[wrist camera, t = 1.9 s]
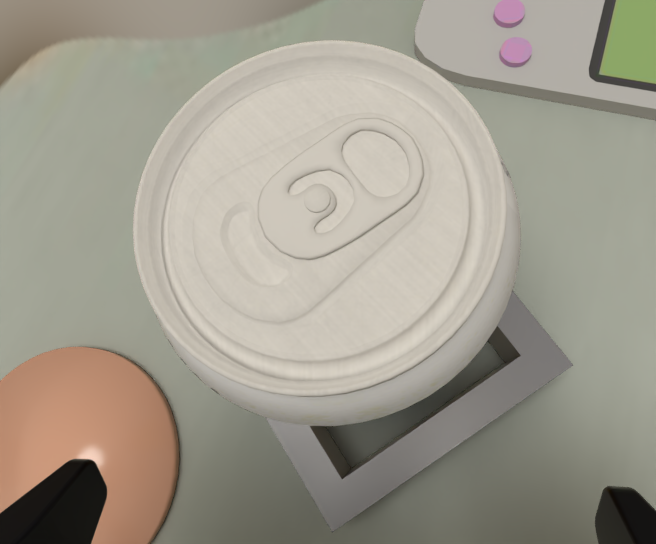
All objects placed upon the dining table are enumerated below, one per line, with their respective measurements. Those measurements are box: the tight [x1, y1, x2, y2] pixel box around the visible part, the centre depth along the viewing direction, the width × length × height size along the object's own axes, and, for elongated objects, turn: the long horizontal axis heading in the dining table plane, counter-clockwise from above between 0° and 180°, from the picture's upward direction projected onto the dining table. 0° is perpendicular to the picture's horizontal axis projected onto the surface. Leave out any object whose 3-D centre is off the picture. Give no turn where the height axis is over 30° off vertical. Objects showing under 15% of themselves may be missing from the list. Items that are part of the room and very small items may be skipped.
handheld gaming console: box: [415, 0, 656, 120], centre depth 23 cm, size 10×2×15 cm
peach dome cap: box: [0, 347, 179, 544], centre depth 22 cm, size 10×10×1 cm
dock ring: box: [265, 291, 573, 532], centre depth 20 cm, size 10×10×3 cm
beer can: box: [133, 40, 521, 426], centre depth 14 cm, size 6×6×15 cm
